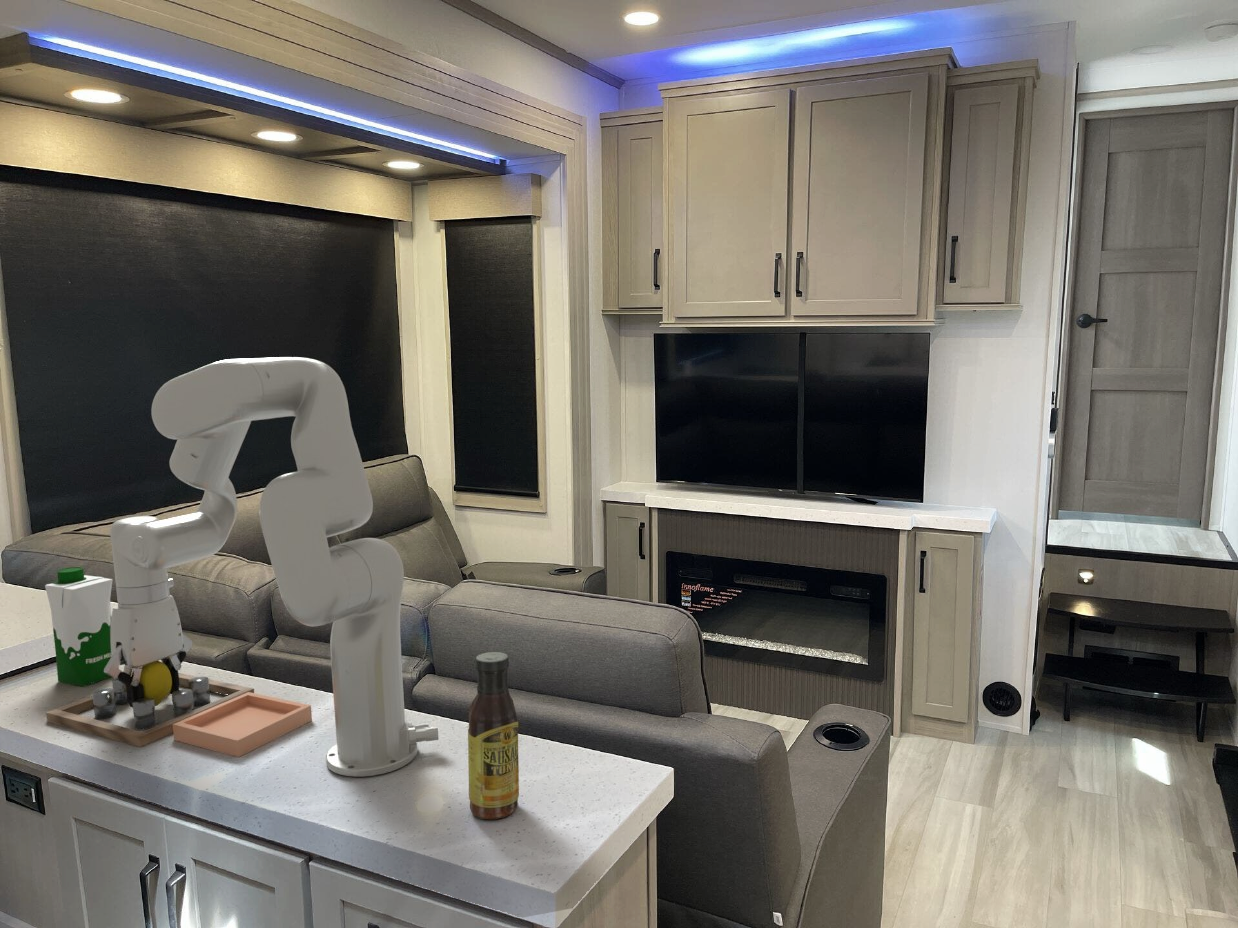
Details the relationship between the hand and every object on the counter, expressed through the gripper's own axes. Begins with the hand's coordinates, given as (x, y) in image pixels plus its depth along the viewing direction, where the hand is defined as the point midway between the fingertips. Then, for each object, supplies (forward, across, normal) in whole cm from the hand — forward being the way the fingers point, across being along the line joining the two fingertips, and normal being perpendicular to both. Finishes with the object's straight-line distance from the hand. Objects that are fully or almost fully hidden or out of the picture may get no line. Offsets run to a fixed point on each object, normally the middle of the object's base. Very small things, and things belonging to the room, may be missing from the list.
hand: (154, 699), depth 148 cm
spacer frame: (+2, 0, 0) cm, 2 cm away
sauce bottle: (+3, +4, +70) cm, 70 cm away
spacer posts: (+2, 0, 0) cm, 2 cm away
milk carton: (+2, -5, -25) cm, 26 cm away
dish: (+2, 0, +20) cm, 21 cm away
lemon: (+1, 0, 0) cm, 1 cm away
